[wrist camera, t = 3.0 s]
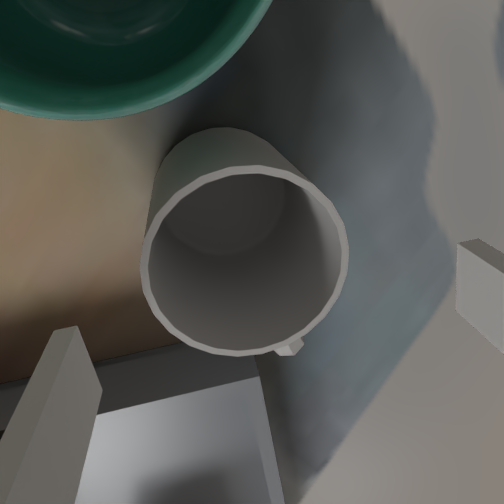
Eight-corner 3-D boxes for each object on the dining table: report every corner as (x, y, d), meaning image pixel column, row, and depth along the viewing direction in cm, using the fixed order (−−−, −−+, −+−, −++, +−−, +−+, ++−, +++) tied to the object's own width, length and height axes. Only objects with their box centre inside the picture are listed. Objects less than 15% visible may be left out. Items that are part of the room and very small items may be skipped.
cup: (258, 99, 22) (307, 124, 14) (325, 264, 26) (393, 358, 18) (125, 163, 22) (95, 226, 14) (213, 316, 26) (230, 432, 18)
